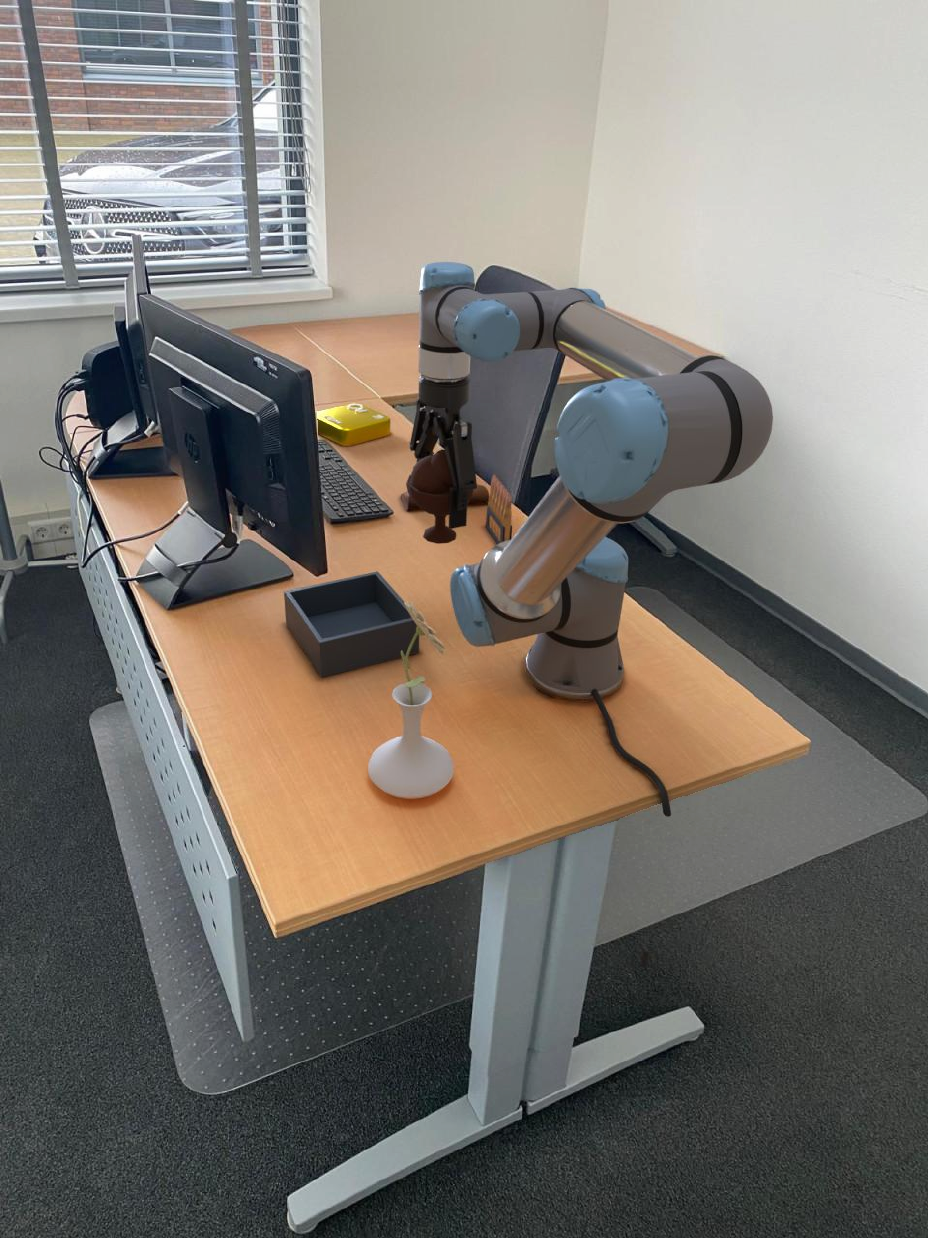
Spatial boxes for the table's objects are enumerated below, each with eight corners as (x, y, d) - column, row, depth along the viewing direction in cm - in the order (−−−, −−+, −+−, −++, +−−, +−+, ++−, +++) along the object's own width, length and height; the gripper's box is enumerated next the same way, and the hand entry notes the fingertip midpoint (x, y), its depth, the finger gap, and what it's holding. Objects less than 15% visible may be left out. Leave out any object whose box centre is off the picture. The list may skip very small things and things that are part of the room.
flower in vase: (456, 806, 117) (465, 644, 104) (367, 808, 116) (364, 645, 103) (450, 740, 128) (457, 587, 115) (368, 741, 127) (366, 587, 114)
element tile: (309, 429, 227) (308, 411, 224) (357, 417, 236) (357, 399, 233) (345, 447, 218) (344, 428, 215) (393, 434, 227) (393, 416, 224)
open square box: (419, 652, 146) (419, 618, 142) (321, 678, 139) (319, 642, 136) (377, 603, 158) (377, 571, 155) (286, 624, 151) (283, 591, 148)
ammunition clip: (511, 550, 177) (515, 494, 171) (502, 551, 177) (506, 494, 170) (493, 526, 186) (497, 471, 179) (485, 527, 185) (488, 472, 179)
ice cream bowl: (475, 523, 151) (479, 437, 144) (468, 554, 142) (473, 464, 134) (412, 518, 152) (413, 433, 144) (401, 548, 143) (402, 459, 135)
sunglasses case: (477, 486, 201) (483, 468, 195) (485, 513, 198) (491, 495, 192) (398, 494, 196) (402, 475, 190) (404, 521, 193) (409, 503, 187)
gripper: (506, 396, 126) (497, 537, 138) (432, 351, 144) (429, 480, 155) (458, 402, 123) (453, 546, 135) (388, 356, 140) (389, 487, 152)
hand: (440, 511), depth 145 cm, fingers closed on ice cream bowl, 11 cm apart
